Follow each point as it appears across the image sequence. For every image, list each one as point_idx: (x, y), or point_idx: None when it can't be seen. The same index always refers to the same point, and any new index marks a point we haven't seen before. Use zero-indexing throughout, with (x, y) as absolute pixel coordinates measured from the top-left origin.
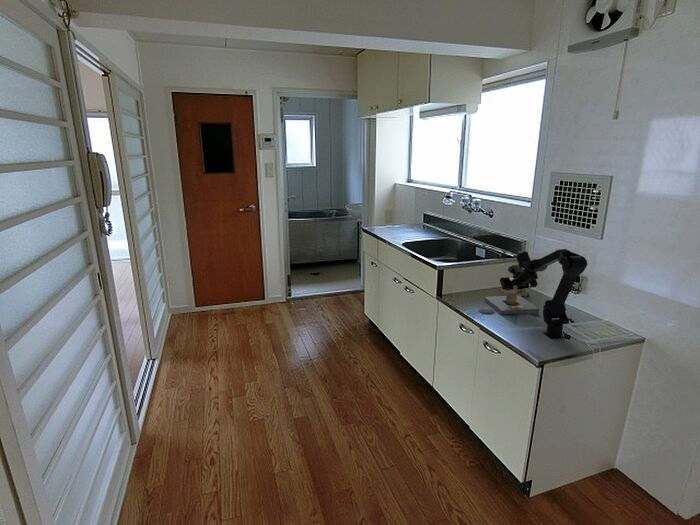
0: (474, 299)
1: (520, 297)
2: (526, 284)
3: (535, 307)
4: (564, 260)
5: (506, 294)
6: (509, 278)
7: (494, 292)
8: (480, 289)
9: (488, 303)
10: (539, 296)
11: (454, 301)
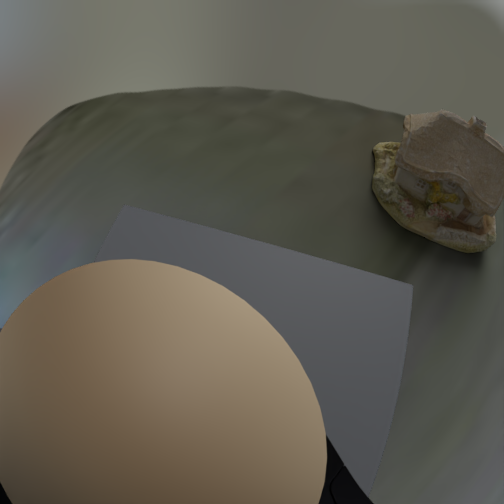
0: (124, 174)
1: (394, 330)
2: None
3: None
4: None
5: (374, 190)
6: (103, 270)
7: (328, 139)
8: (282, 92)
9: None
10: None
11: (31, 169)
